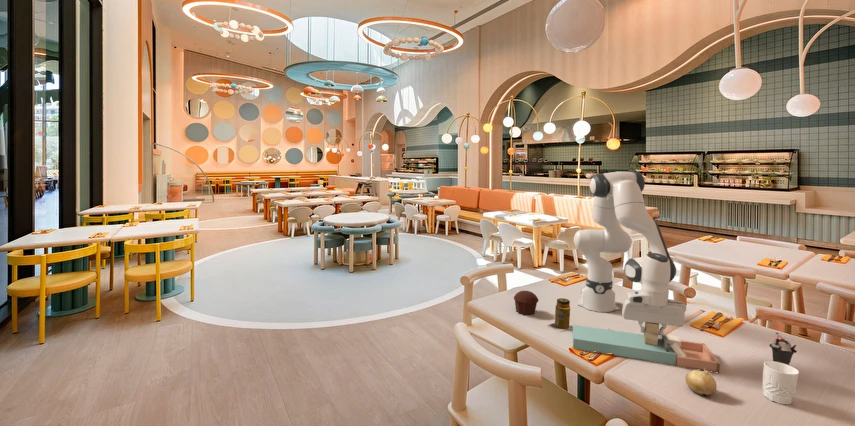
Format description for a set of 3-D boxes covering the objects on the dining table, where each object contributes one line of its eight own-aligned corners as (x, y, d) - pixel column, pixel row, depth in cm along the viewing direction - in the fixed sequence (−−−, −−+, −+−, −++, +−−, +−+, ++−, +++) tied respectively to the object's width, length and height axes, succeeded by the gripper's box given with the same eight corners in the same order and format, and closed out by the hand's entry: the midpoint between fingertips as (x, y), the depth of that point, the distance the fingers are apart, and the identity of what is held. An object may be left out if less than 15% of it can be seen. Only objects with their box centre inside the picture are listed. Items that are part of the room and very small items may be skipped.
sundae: (760, 371, 133) (765, 329, 131) (778, 370, 134) (783, 329, 132) (779, 382, 127) (785, 338, 125) (798, 381, 127) (804, 338, 125)
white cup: (758, 388, 123) (762, 358, 122) (791, 396, 119) (796, 365, 117) (761, 400, 117) (765, 368, 115) (797, 409, 112) (801, 377, 111)
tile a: (662, 339, 148) (662, 334, 148) (677, 341, 147) (677, 336, 146) (665, 344, 144) (665, 339, 143) (680, 346, 142) (681, 341, 142)
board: (572, 333, 161) (573, 324, 161) (666, 347, 150) (667, 337, 149) (572, 348, 148) (573, 338, 148) (675, 365, 137) (676, 354, 136)
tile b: (672, 346, 143) (677, 343, 142) (682, 359, 140) (687, 356, 139) (670, 345, 139) (675, 343, 138) (680, 359, 136) (685, 356, 135)
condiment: (573, 327, 168) (575, 301, 166) (560, 332, 163) (562, 304, 162) (559, 321, 174) (560, 296, 173) (546, 326, 169) (548, 299, 168)
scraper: (641, 335, 151) (643, 315, 150) (661, 338, 149) (663, 318, 148) (647, 348, 140) (649, 327, 139) (669, 352, 138) (671, 330, 137)
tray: (666, 346, 151) (667, 338, 150) (704, 352, 147) (704, 343, 146) (677, 366, 136) (678, 357, 135) (719, 373, 132) (720, 363, 131)
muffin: (543, 313, 183) (544, 293, 182) (527, 318, 177) (528, 297, 176) (523, 306, 193) (524, 286, 192) (508, 310, 187) (508, 290, 186)
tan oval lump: (713, 402, 115) (716, 380, 114) (682, 391, 121) (684, 370, 120) (716, 391, 121) (719, 369, 120) (686, 381, 126) (688, 360, 126)
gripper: (684, 298, 142) (681, 334, 144) (622, 291, 149) (620, 326, 151) (689, 304, 137) (685, 341, 138) (624, 296, 144) (622, 332, 145)
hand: (651, 333), depth 145 cm, fingers closed on scraper, 4 cm apart
